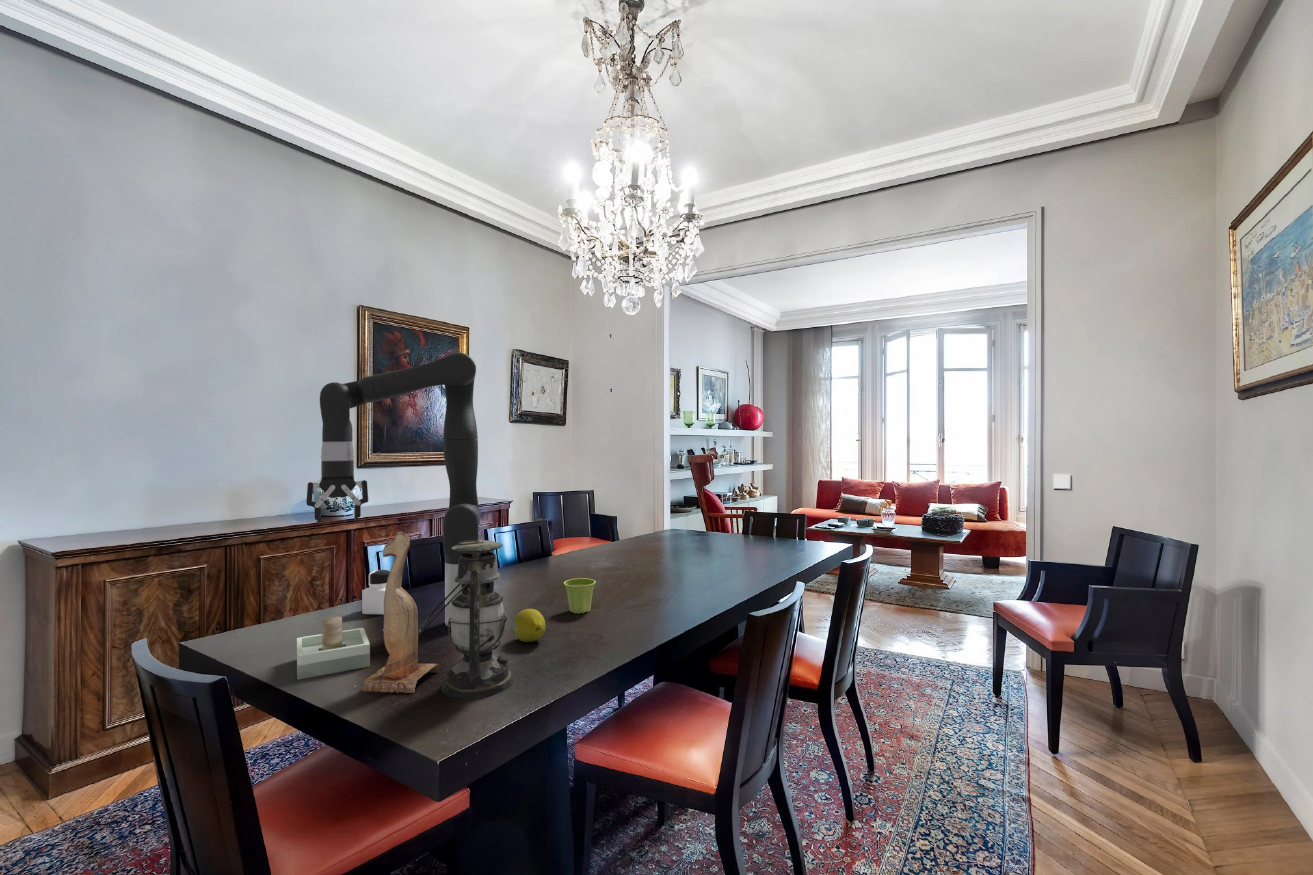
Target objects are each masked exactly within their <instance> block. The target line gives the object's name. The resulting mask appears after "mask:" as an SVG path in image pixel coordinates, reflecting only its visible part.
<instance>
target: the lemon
mask: <svg viewBox="0 0 1313 875" xmlns="http://www.w3.org/2000/svg"><path fill="white" fill-rule="evenodd" d="M512 628H513V629H512V630H513V632H514V633H513V634H515V636H516V638H517V639H518V640H520V641H521V642H525V643H533V642H536V641H537V640H540V638H542V636H543V635H544V634H545V632H546V621H545V618H544V615H543V614H542V613H541V612H540V611H539V610H537V609H535V608H524V609H522V610H521V611H519V612H518V613H517V614H516V616H515V618H514V620H513V624H512Z"/></svg>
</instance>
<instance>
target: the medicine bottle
mask: <svg viewBox="0 0 1313 875" xmlns="http://www.w3.org/2000/svg"><path fill="white" fill-rule="evenodd" d="M390 571H391V570H388V569H378V570H377V569H376V570H373V571H371V572H369V574H368V586H369V587H366V588H364V589H362V590H361V592H362V593H361V598H362V599H361V600H362V601H361V602H362V603H361V607H362V608H361V610H362V611H361V613H362V614H363V615H384V596H385V589H386V584H387V580H388V577H389V574H390Z"/></svg>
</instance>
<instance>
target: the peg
mask: <svg viewBox="0 0 1313 875" xmlns="http://www.w3.org/2000/svg"><path fill="white" fill-rule="evenodd" d="M321 621H322V622H321V623H322V624H321V626H322V627H321V628H322V629H321V630H322V633H321V634H322V651H324V650H330V649H336V648H342V631H343V617H342V616H329V617H326V618H323V619H322V620H321Z"/></svg>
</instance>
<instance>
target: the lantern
mask: <svg viewBox="0 0 1313 875" xmlns="http://www.w3.org/2000/svg"><path fill="white" fill-rule="evenodd" d="M462 542H463V543H462ZM460 543H461V544H460ZM503 546H504V545H503V543H500V542H497V541H493V540H487V539H486V540H484V539H483V540H480V539H479V540H468V541H460V542H459V543H458V545H456V546H453V547H452V549H453V550H455V551H458V552H461V556H460V558H459V560H458V574H457V576H456V577H455V580H454V581H455V582H457V583H459V584H458V585H457V586H456V587H455V588H454V589H453V591H452V592H451V593H450V594H449V595H448V596H447V597H446V598H445V597H444V599H443V600H442V601H441V602H440V603H439V604H438V605H437V606H436V607H435V608H434V609H433V610H432V612H431V613H430V614H429V615H428V616H427V618H426V619H425V621H424V622H423V623H422V625H421V626H420V627H418V636H419V635H420V634H422V633H423V632H424V631H425V630H426V629H427V628H428V627H429V625H431V623H432V622H434V621H435V619H436V618H437V617H438V616H439V615H441V613H442V612H443V611H445V608H446V606H447V605H448V604H449V603H450V602H451V601H452V600H453V599H454V598H455V597H456V596H457V595H458V594H459V593H460V592H461V591H462V594H460V595H458V596H457V597H456V599H454V600H453V601H452V605H453V609H452V613H451V618H450V619H451V621H450V619H449V621H448V626H447V631H448V636H449V640H450V642H451V643H452V645H453V646H454V650H455V651H456V652H458V653H460V654H463V658H460V660H457V662H454V664H452V665H451V666H449V667H448V668H447V670H446V677H445V678H444V681H443V683H442V685H441V688H440V689H441V692H442V693H443V694H445V696H447V697H451V698H454V699H462V700H463V699H464V700H470V699H480V698H482V699H483V698H487V697H491V696H495V695H497V694H499V693H502V692H505V691H506V690H507V689H509V688H510V687H512V685H513V684H514V681H515V679H514V676H513V673H512V672H511V670H510V669H509V666H510V665H509V664H510V663H508V662H509V658H508V657H506V656H505V655H502V654H500V655H498V656H496V655H494V654H493V651H494V650H496V649H498V648H499V647H501V640H502V638H503V636H504V633H505V627H506V622H507V620H508V618H507V617H506V614H505V609H504V605H503V604H504V603H503V601H504V597H503V596H502V595H500V593H498V592H496V591H494V590H495V589H494V588H495V586H494V585H495V582H496V581H498V580H500V579H501V578H502V577H501V574H500V573H499V571H498V562H497V560H498V559H497V556H496V554H495V552H494V551H495V550H498V549H501V548H502V547H503ZM463 553H465V554H463ZM461 583H462V584H461ZM460 584H461V588H462V589H461V590H460V591H459V592H458V593H457V594H456V595H455V596H454V597H453V598H452V599H451V600H450V601H449V602H448V603H447V604H446V605H445V604H444V606H443V607H442V608H441V609H440V610H439V611H438V613H436V614H435V615H434V617H432V619H431V620H430V621H429V622H428V623H427V621H428V620H429V619H430V617H431V616H432V615H433V614H434V613H435V612H436V611H437V610H438V609H439V607H441V605H442V604H443V603H445V600H446V599H447V598H448V597H449V596H450V595H451V594H452V593H453V592H454V591H455V590H456V589H457V588H458V587H459V586H460ZM426 623H427V624H426ZM425 624H426V625H425ZM449 624H450V626H451V627H449ZM450 632H451V633H450Z"/></svg>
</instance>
